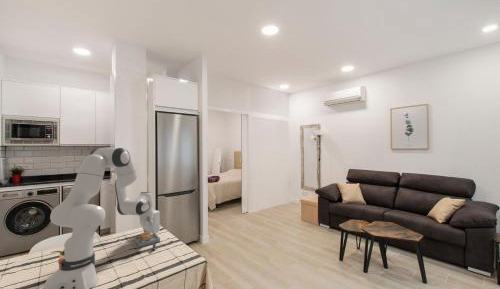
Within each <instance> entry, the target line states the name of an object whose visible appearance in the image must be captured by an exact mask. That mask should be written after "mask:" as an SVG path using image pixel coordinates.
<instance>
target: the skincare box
mask: <svg viewBox="0 0 500 289" xmlns="http://www.w3.org/2000/svg"><path fill="white" fill-rule="evenodd" d="M153 213H154V217H153V218H152V221H153V226H154V231H153V232H155V233H156V234H157V233H159V232H160V231H161V229H160V226H161V225H160V224H161V222H160V221H161V219H160V218H161V211H160V210H157V209H156V210H155V209H153ZM153 232H152V233H153Z"/></svg>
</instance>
